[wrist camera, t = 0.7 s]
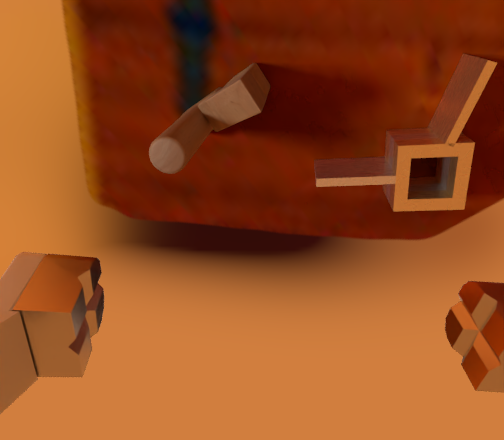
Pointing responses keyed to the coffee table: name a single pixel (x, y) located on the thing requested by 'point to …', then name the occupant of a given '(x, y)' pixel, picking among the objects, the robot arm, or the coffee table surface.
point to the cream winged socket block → (422, 151)
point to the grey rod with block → (210, 119)
